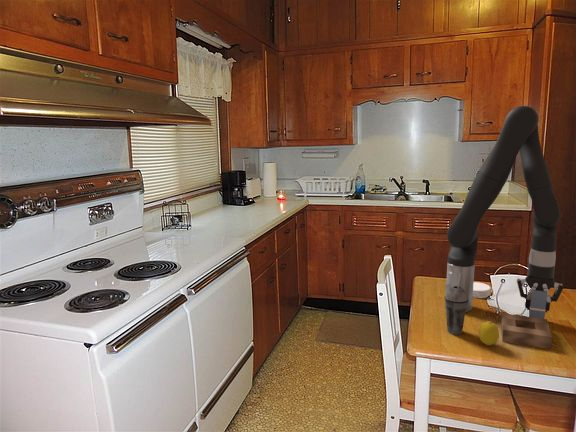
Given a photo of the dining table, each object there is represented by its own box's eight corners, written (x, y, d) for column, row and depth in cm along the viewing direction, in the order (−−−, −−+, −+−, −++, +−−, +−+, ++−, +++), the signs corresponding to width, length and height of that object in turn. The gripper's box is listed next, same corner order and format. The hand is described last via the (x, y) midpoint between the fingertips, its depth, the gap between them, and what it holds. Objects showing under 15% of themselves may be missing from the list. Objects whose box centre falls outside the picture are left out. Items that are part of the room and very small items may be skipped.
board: (502, 341, 132) (503, 329, 131) (501, 324, 143) (501, 313, 142) (550, 349, 126) (552, 337, 125) (545, 330, 138) (546, 319, 137)
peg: (528, 320, 143) (531, 290, 141) (527, 315, 147) (530, 285, 145) (544, 323, 142) (547, 292, 139) (542, 317, 146) (545, 287, 143)
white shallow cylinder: (490, 300, 164) (491, 292, 163) (462, 296, 168) (463, 288, 167) (490, 291, 172) (491, 283, 172) (464, 288, 177) (464, 280, 176)
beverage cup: (438, 329, 141) (440, 272, 137) (454, 325, 144) (457, 268, 140) (454, 338, 134) (457, 279, 130) (471, 334, 137) (475, 275, 133)
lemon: (474, 342, 132) (476, 318, 130) (491, 340, 132) (493, 317, 131) (484, 350, 126) (486, 326, 125) (501, 349, 127) (503, 324, 125)
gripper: (518, 263, 140) (513, 311, 143) (569, 268, 134) (563, 318, 137) (516, 257, 147) (512, 303, 150) (565, 261, 141) (559, 309, 144)
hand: (536, 310), depth 144 cm, fingers closed on peg, 4 cm apart
